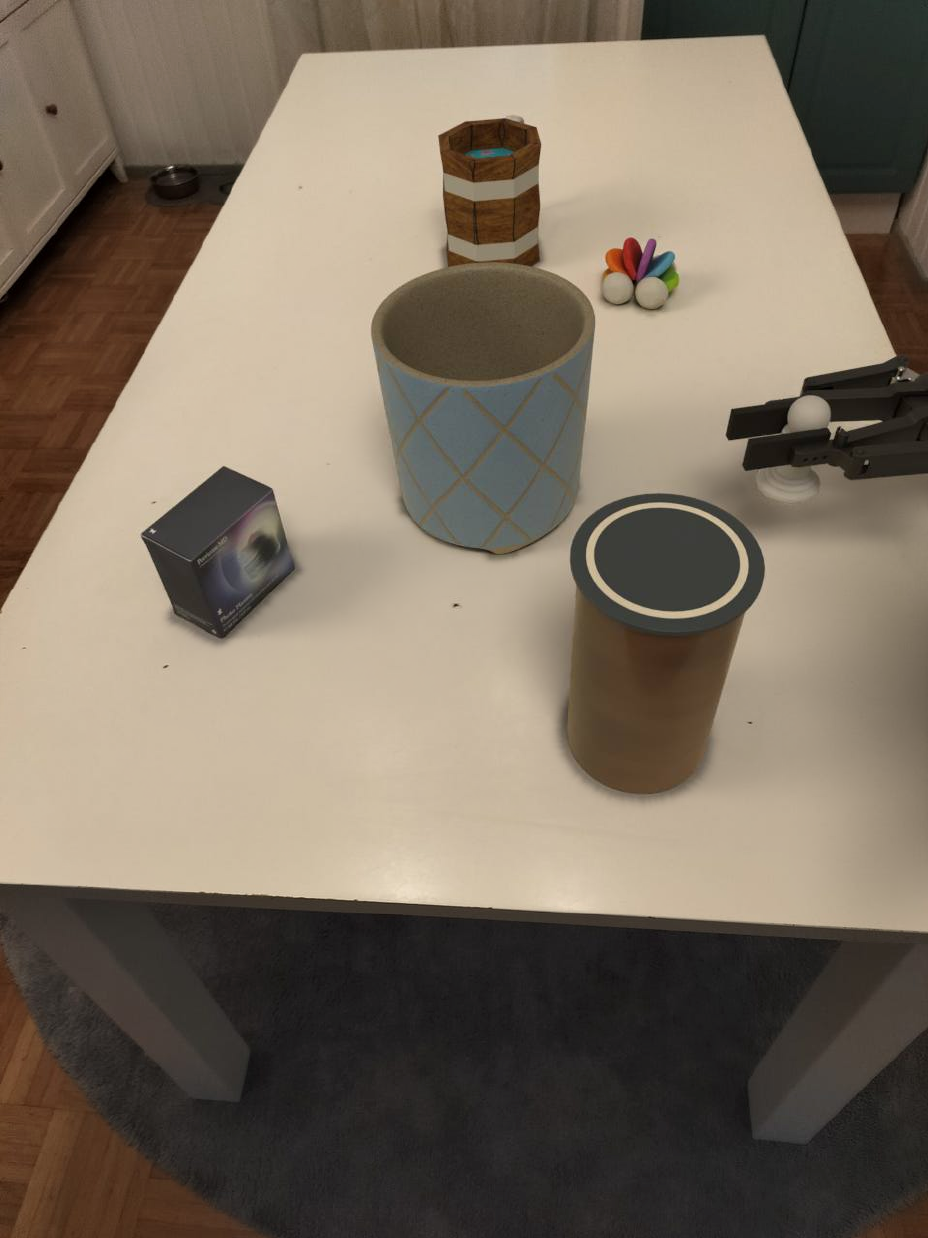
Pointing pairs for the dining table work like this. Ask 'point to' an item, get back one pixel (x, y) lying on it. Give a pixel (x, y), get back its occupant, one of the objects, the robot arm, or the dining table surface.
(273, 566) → the small box
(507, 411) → the planter
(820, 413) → the chess piece
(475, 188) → the mug
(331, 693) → the dining table surface
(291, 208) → the dining table surface
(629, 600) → the slate board
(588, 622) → the walnut pedestal
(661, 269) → the rainbow petal fan toy
